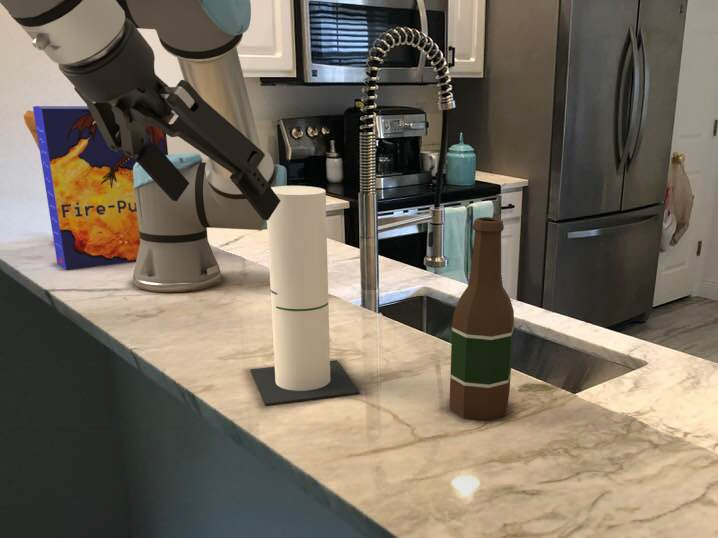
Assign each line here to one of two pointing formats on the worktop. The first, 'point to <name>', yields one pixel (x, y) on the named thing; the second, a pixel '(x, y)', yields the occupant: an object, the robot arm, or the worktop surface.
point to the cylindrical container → (299, 288)
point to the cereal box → (88, 188)
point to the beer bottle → (482, 332)
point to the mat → (277, 395)
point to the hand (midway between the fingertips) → (224, 200)
